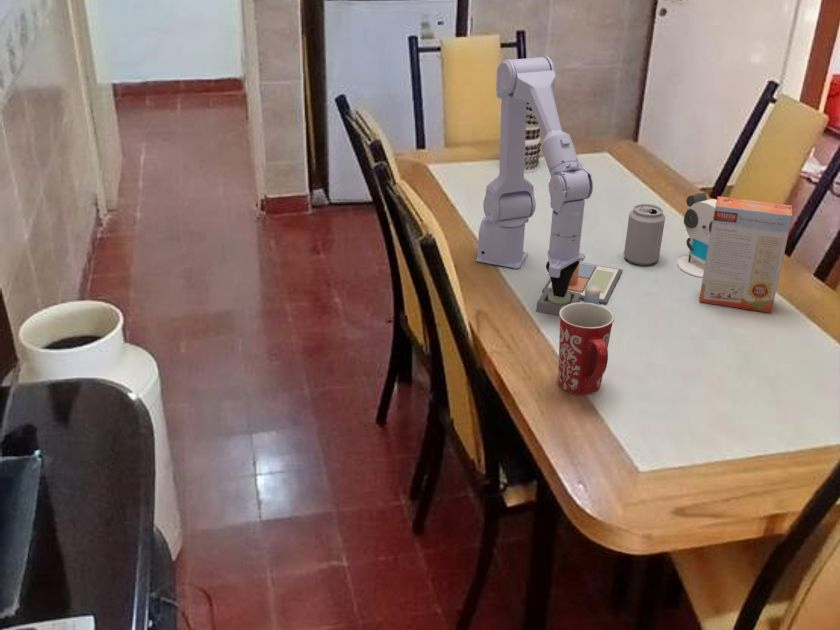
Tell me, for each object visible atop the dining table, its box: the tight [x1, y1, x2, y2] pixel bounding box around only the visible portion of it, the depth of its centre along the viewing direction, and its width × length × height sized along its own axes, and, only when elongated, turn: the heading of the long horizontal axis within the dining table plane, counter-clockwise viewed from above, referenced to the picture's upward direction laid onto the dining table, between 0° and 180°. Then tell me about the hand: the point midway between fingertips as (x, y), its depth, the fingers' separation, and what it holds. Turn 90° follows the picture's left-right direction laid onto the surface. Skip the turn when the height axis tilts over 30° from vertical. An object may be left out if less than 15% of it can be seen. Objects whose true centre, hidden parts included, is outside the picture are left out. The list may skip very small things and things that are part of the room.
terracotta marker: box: [569, 261, 581, 285], centre depth 192 cm, size 3×3×6 cm
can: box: [623, 203, 666, 266], centre depth 203 cm, size 8×8×12 cm
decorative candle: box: [524, 102, 542, 174], centre depth 249 cm, size 9×9×25 cm
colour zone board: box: [542, 261, 623, 306], centre depth 196 cm, size 13×16×1 cm
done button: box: [548, 291, 571, 305], centre depth 186 cm, size 4×4×2 cm
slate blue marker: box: [583, 284, 601, 305], centre depth 182 cm, size 3×3×6 cm
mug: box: [557, 301, 615, 396], centre depth 157 cm, size 13×9×14 cm
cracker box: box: [698, 196, 793, 314], centre depth 185 cm, size 14×6×21 cm, turn 71°
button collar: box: [535, 287, 581, 316], centre depth 186 cm, size 7×7×2 cm
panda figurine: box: [676, 192, 717, 279], centre depth 200 cm, size 12×11×15 cm
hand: (559, 295), depth 185 cm, fingers closed, pressing on done button
